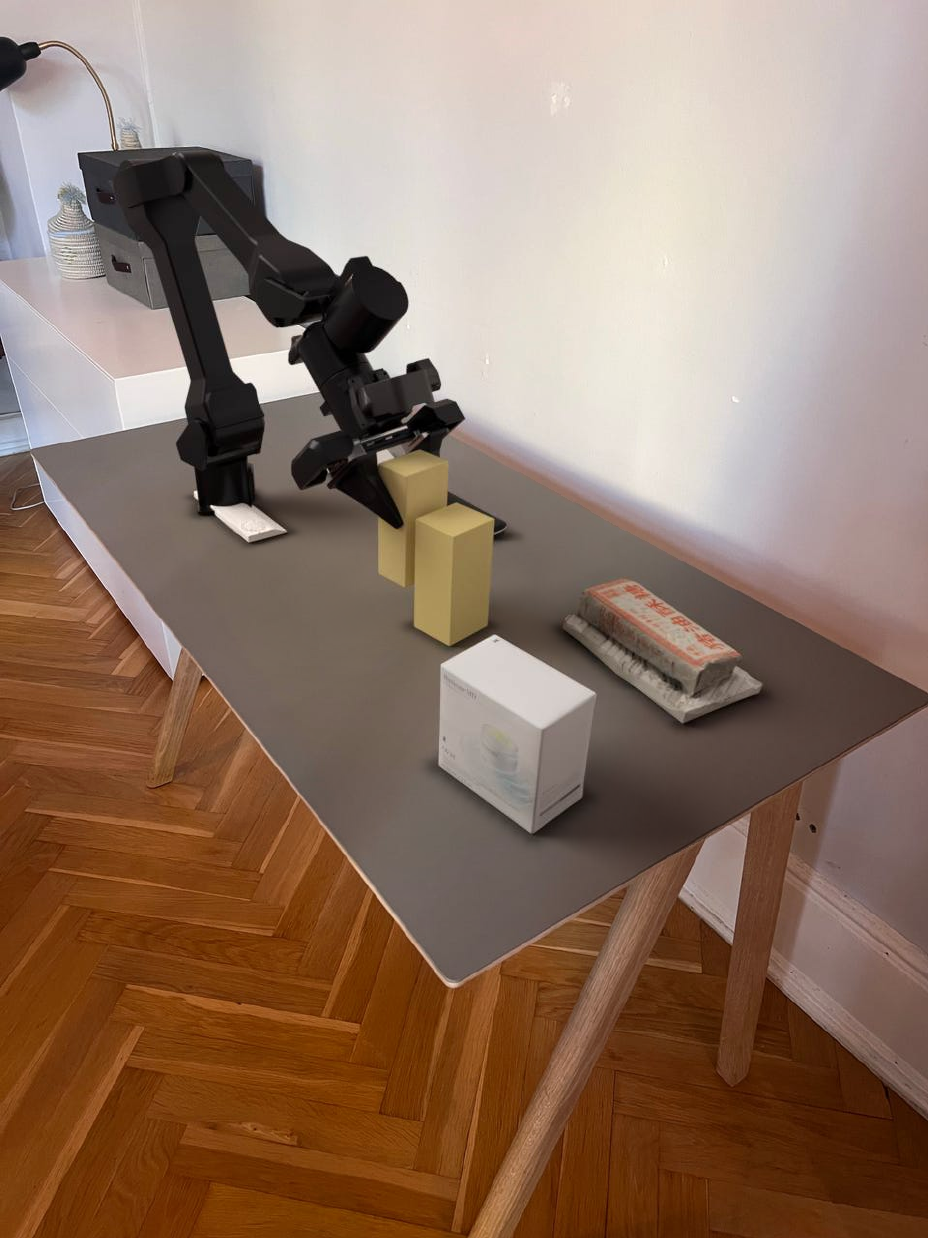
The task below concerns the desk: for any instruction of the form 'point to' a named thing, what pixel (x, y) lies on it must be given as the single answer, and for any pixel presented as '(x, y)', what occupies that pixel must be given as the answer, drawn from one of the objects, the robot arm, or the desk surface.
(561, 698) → the cosmetics box
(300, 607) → the desk surface
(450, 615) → the butter block
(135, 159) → the robot arm
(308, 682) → the desk surface
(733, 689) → the packaged product
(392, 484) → the yellow rectangular block
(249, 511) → the white flat slab
